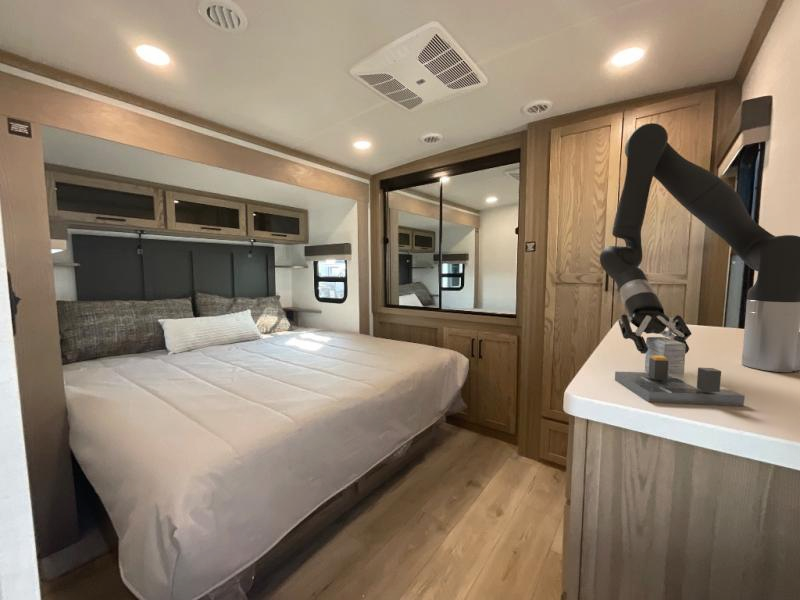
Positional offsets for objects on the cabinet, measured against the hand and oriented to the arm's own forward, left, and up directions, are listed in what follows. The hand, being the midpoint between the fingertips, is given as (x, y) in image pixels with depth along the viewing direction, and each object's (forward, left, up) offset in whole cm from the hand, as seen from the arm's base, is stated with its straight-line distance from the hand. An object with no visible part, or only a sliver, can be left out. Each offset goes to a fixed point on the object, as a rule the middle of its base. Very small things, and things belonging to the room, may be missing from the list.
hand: (664, 352), depth 78 cm
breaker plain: (+2, +16, -3) cm, 17 cm away
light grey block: (0, 0, -6) cm, 6 cm away
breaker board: (+5, +11, -6) cm, 13 cm away
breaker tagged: (+7, +10, -3) cm, 12 cm away
